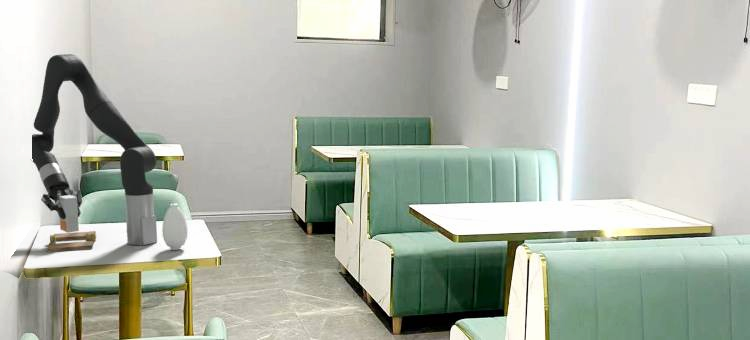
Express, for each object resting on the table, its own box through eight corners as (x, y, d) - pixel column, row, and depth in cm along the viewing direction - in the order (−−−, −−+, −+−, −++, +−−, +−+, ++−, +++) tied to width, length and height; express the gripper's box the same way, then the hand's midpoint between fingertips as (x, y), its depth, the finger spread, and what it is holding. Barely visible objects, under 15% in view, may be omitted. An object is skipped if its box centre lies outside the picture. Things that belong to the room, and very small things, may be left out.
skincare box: (59, 230, 257) (58, 196, 256) (72, 228, 260) (70, 194, 259) (66, 232, 253) (65, 198, 251) (79, 231, 256) (77, 197, 254)
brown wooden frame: (97, 234, 271) (96, 225, 270) (93, 248, 248) (93, 239, 248) (54, 237, 266) (53, 228, 266) (46, 252, 244) (46, 242, 243)
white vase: (174, 253, 241) (172, 198, 239) (158, 250, 245) (156, 196, 243) (192, 248, 248) (190, 195, 245) (176, 245, 252) (174, 193, 249)
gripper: (36, 174, 254) (54, 213, 247) (76, 170, 264) (94, 207, 258) (30, 187, 258) (47, 226, 251) (70, 183, 268) (87, 220, 262)
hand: (71, 216), depth 255 cm, fingers closed on skincare box, 4 cm apart
